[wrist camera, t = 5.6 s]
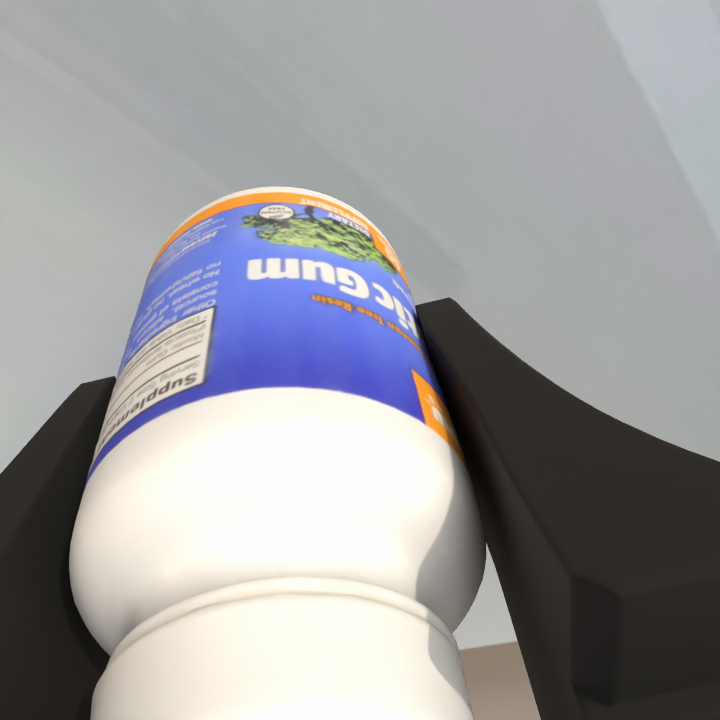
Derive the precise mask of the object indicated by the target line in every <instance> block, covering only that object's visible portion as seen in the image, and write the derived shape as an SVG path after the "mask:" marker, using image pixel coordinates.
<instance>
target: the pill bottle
mask: <svg viewBox="0 0 720 720" xmlns="http://www.w3.org/2000/svg"><path fill="white" fill-rule="evenodd" d="M485 562H486V535H485V526H484V522H483V518H482V514H481V510H480V507H479V503H478V500H477V497H476V493H475V488H474V485H473V482H472V479H471V476H470V473H469V470H468V467H467V464H466V461H465V458H464V454H463V451H462V448H461V445H460V442H459V439H458V436H457V433H456V430H455V427H454V424H453V421H452V418H451V415H450V412H449V409H448V406H447V403H446V400H445V397H444V394H443V391H442V388H441V385H440V382H439V379H438V376H437V374H436V371H435V369H434V366H433V363H432V360H431V358H430V355H429V352H428V349H427V346H426V343H425V340H424V337H423V334H422V331H421V328H420V325H419V322H418V319H417V314H416V309H415V304H414V301H413V298H412V295H411V292H410V289H409V285H408V282H407V279H406V276H405V274H404V272H403V269H402V267H401V264H400V262H399V260H398V258H397V256H396V254H395V252H394V250H393V249H392V247H391V245H390V244H389V242H388V241H387V239H386V238H385V237H384V235H383V234H382V233H381V232H380V231H379V229H378V228H377V227H376V226H375V225H374V224H373V223H372V222H370V221H369V220H368V219H367V218H366V217H364V216H363V215H362V214H361V213H359V212H358V211H357V210H355V209H354V208H352V207H351V206H349V205H347V204H345V203H343V202H341V201H339V200H337V199H335V198H333V197H330V196H328V195H325V194H322V193H319V192H315V191H311V190H306V189H301V188H293V187H260V188H254V189H248V190H243V191H239V192H236V193H233V194H230V195H227V196H224V197H222V198H220V199H218V200H216V201H214V202H212V203H210V204H208V205H206V206H204V207H203V208H201V209H200V210H198V211H197V212H195V213H194V214H192V215H191V216H190V217H189V218H187V219H186V220H185V221H184V222H183V223H182V224H181V225H180V226H179V227H177V228H176V229H175V230H174V232H173V233H172V234H171V235H170V236H169V238H168V239H167V240H166V242H165V243H164V245H163V246H162V248H161V250H160V251H159V253H158V255H157V257H156V259H155V261H154V263H153V265H152V267H151V270H150V272H149V274H148V277H147V280H146V283H145V286H144V289H143V292H142V296H141V299H140V302H139V305H138V309H137V312H136V315H135V318H134V321H133V324H132V328H131V331H130V335H129V338H128V341H127V344H126V348H125V352H124V355H123V358H122V362H121V365H120V368H119V372H118V375H117V379H116V382H115V385H114V389H113V392H112V396H111V399H110V402H109V405H108V409H107V412H106V416H105V419H104V423H103V426H102V430H101V433H100V437H99V440H98V443H97V445H96V449H95V453H94V457H93V461H92V463H91V466H90V469H89V473H88V477H87V480H86V484H85V487H84V491H83V495H82V499H81V503H80V507H79V510H78V514H77V517H76V521H75V525H74V530H73V534H72V539H71V544H70V556H69V572H70V583H71V589H72V593H73V598H74V602H75V605H76V607H77V609H78V611H79V613H80V615H81V618H82V620H83V621H84V623H85V625H86V627H87V628H88V630H89V631H90V633H91V635H92V636H93V637H94V638H95V640H96V641H97V642H98V643H99V645H100V646H101V647H102V648H103V649H104V650H105V651H106V652H107V653H108V654H109V655H110V656H111V657H110V659H109V662H108V664H107V667H106V670H105V672H104V673H103V675H102V676H101V678H100V679H99V681H98V683H97V684H96V687H95V690H94V693H93V696H92V706H91V717H90V720H474V717H473V712H472V708H471V703H470V699H469V694H468V690H467V686H466V682H465V677H464V672H463V668H462V665H461V662H460V654H459V650H458V646H457V642H456V640H455V638H454V636H453V634H452V633H453V632H454V631H455V629H456V628H457V627H458V626H459V625H460V623H461V622H462V621H463V619H464V617H465V616H466V614H467V613H468V611H469V609H470V607H471V606H472V604H473V602H474V600H475V597H476V595H477V592H478V590H479V587H480V584H481V582H482V579H483V574H484V569H485Z"/></svg>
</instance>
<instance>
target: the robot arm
mask: <svg viewBox="0 0 720 720" xmlns="http://www.w3.org/2000/svg"><path fill="white" fill-rule="evenodd" d="M415 309H416V314H417V319H418V322H419V325H420V328H421V331H422V334H423V337H424V340H425V343H426V346H427V349H428V352H429V355H430V358H431V360H432V363H433V366H434V369H435V371H436V374H437V376H438V379H439V382H440V385H441V388H442V391H443V394H444V397H445V400H446V403H447V406H448V409H449V412H450V415H451V418H452V421H453V424H454V427H455V430H456V433H457V436H458V439H459V442H460V445H461V448H462V451H463V454H464V458H465V461H466V464H467V467H468V470H469V473H470V476H471V479H472V482H473V485H474V488H475V493H476V497H477V500H478V503H479V507H480V510H481V514H482V518H483V522H484V526H485V535H486V543H487V545H488V548H489V551H490V554H491V556H492V559H493V562H494V564H495V568H496V571H497V574H498V577H499V581H500V584H501V587H502V590H503V594H504V597H505V600H506V603H507V607H508V610H509V613H510V616H511V620H512V623H513V626H514V630H515V633H516V636H517V640H518V643H519V646H520V650H521V653H522V656H523V660H524V663H525V666H526V670H527V673H528V677H529V680H530V683H531V687H532V690H533V693H534V697H535V701H536V704H537V707H538V711H539V714H540V717H541V720H720V462H719V461H716V460H713V459H710V458H707V457H705V456H702V455H699V454H696V453H694V452H691V451H688V450H685V449H683V448H680V447H678V446H676V445H673V444H671V443H668V442H666V441H663V440H661V439H658V438H656V437H654V436H652V435H650V434H647V433H645V432H643V431H641V430H639V429H636V428H634V427H632V426H630V425H628V424H625V423H623V422H621V421H619V420H617V419H615V418H613V417H611V416H609V415H607V414H605V413H603V412H601V411H599V410H598V409H596V408H594V407H592V406H591V405H589V404H587V403H585V402H584V401H582V400H580V399H578V398H577V397H575V396H574V395H572V394H570V393H569V392H567V391H566V390H564V389H562V388H561V387H559V386H558V385H556V384H555V383H553V382H552V381H550V380H549V379H547V378H546V377H545V376H543V375H542V374H540V373H539V372H537V371H536V370H535V369H533V368H532V367H531V366H529V365H528V364H526V363H525V362H524V361H522V360H521V359H520V358H519V357H517V356H516V355H515V354H514V353H512V352H511V351H510V350H509V349H507V348H506V347H505V346H504V345H502V344H501V343H500V342H499V341H497V340H496V339H495V338H494V337H493V336H492V335H490V334H489V333H488V332H487V331H486V330H485V329H484V328H483V327H481V326H480V325H479V324H478V323H477V322H476V321H475V320H474V319H473V318H472V317H471V316H470V315H469V314H468V313H467V312H466V311H465V310H464V309H463V308H462V307H461V306H460V305H459V304H458V303H457V302H456V301H454V300H453V299H451V298H445V299H441V300H437V301H432V302H428V303H424V304H420V305H415ZM115 382H116V378H115V376H113V377H109V378H104V379H100V380H96V381H92V382H87V383H83V384H81V385H80V386H79V387H78V388H77V389H75V390H74V391H73V392H72V394H71V395H70V396H69V397H68V398H67V399H66V400H65V401H64V402H63V403H62V404H61V406H60V407H59V408H58V409H57V410H56V411H55V412H54V413H53V415H52V416H51V417H50V418H49V419H48V420H47V422H46V423H45V424H44V425H43V426H42V427H41V429H40V430H39V431H38V432H37V433H36V434H35V435H34V437H33V438H32V439H31V440H30V441H29V442H28V443H27V445H26V446H25V447H24V448H23V449H22V450H21V451H20V453H19V454H18V455H17V456H16V457H15V458H14V459H13V461H12V462H11V463H10V464H9V465H8V466H7V467H6V468H5V470H4V471H3V472H2V473H1V474H0V720H90V717H91V706H92V696H93V693H94V690H95V687H96V684H97V683H98V681H99V679H100V678H101V676H102V675H103V673H104V672H105V670H106V667H107V664H108V662H109V659H110V657H111V656H110V655H109V654H108V653H107V652H106V651H105V650H104V649H103V648H102V647H101V646H100V645H99V643H98V642H97V641H96V640H95V638H94V637H93V636H92V635H91V633H90V631H89V630H88V628H87V627H86V625H85V623H84V621H83V620H82V618H81V615H80V613H79V611H78V609H77V607H76V605H75V602H74V598H73V593H72V589H71V583H70V572H69V556H70V544H71V539H72V534H73V530H74V525H75V521H76V517H77V514H78V510H79V507H80V503H81V499H82V495H83V491H84V487H85V484H86V480H87V477H88V473H89V469H90V466H91V463H92V461H93V457H94V453H95V449H96V445H97V443H98V440H99V437H100V433H101V430H102V426H103V423H104V419H105V416H106V412H107V409H108V405H109V402H110V399H111V396H112V392H113V389H114V385H115Z"/></svg>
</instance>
